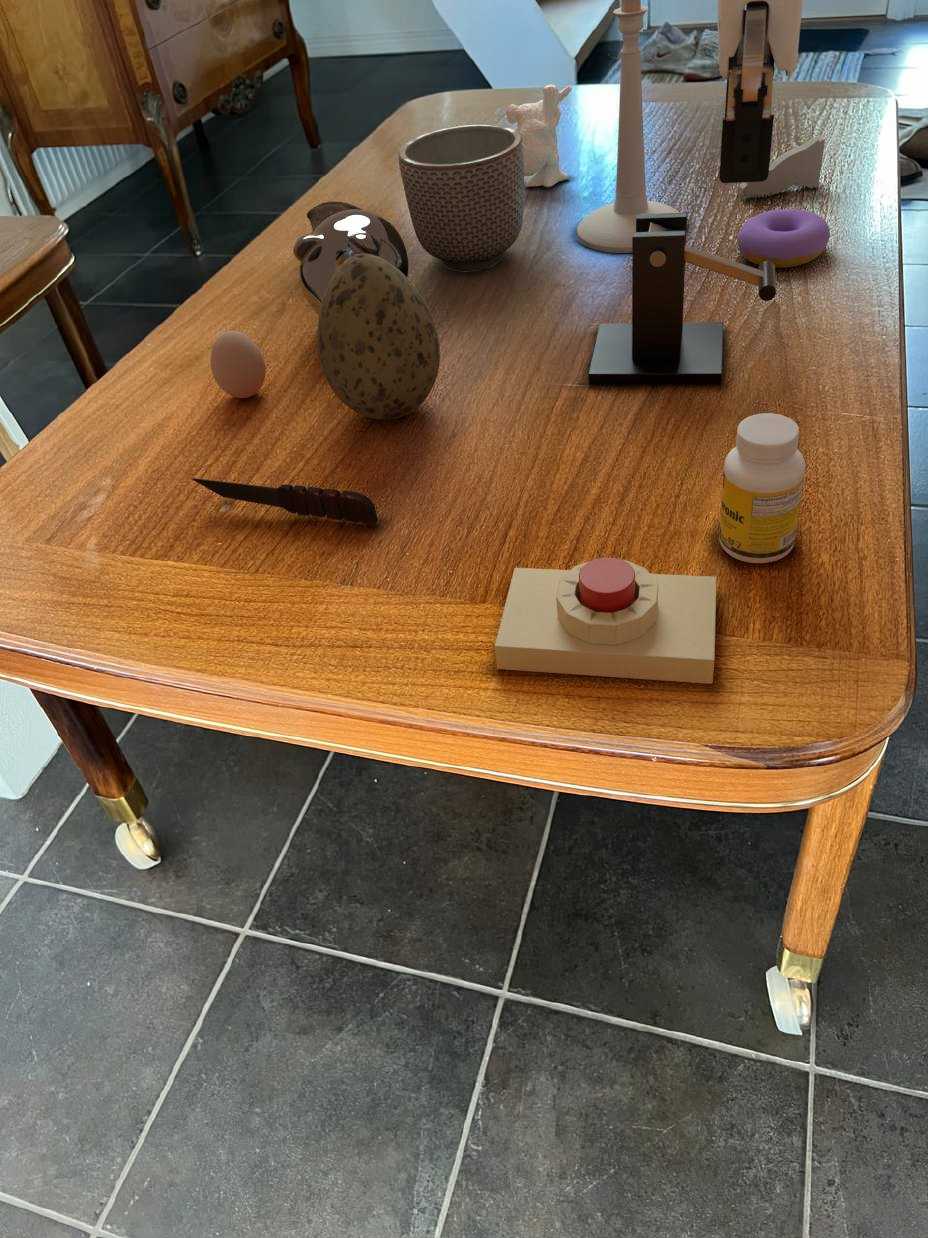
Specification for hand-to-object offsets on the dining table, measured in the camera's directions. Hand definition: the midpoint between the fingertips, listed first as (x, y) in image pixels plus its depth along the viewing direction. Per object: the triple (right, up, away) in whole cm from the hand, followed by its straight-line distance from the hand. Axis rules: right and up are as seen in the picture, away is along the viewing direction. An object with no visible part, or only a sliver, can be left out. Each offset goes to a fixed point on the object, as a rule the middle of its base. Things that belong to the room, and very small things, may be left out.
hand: (744, 155), depth 68 cm
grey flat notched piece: (+18, +19, +49) cm, 56 cm away
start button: (-11, -32, -6) cm, 34 cm away
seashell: (-34, +11, +50) cm, 61 cm away
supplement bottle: (+1, -28, +2) cm, 28 cm away
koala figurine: (-9, +26, +61) cm, 67 cm away
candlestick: (0, +13, +46) cm, 48 cm away
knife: (-35, -25, +12) cm, 44 cm away
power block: (-10, -34, -3) cm, 36 cm away
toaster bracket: (-2, -8, +23) cm, 25 cm away
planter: (-19, +9, +45) cm, 50 cm away
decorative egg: (-27, -14, +22) cm, 37 cm away
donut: (+15, +7, +37) cm, 40 cm away
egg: (-42, -11, +28) cm, 51 cm away
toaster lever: (+1, -2, +17) cm, 17 cm away
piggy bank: (-31, -1, +36) cm, 48 cm away
